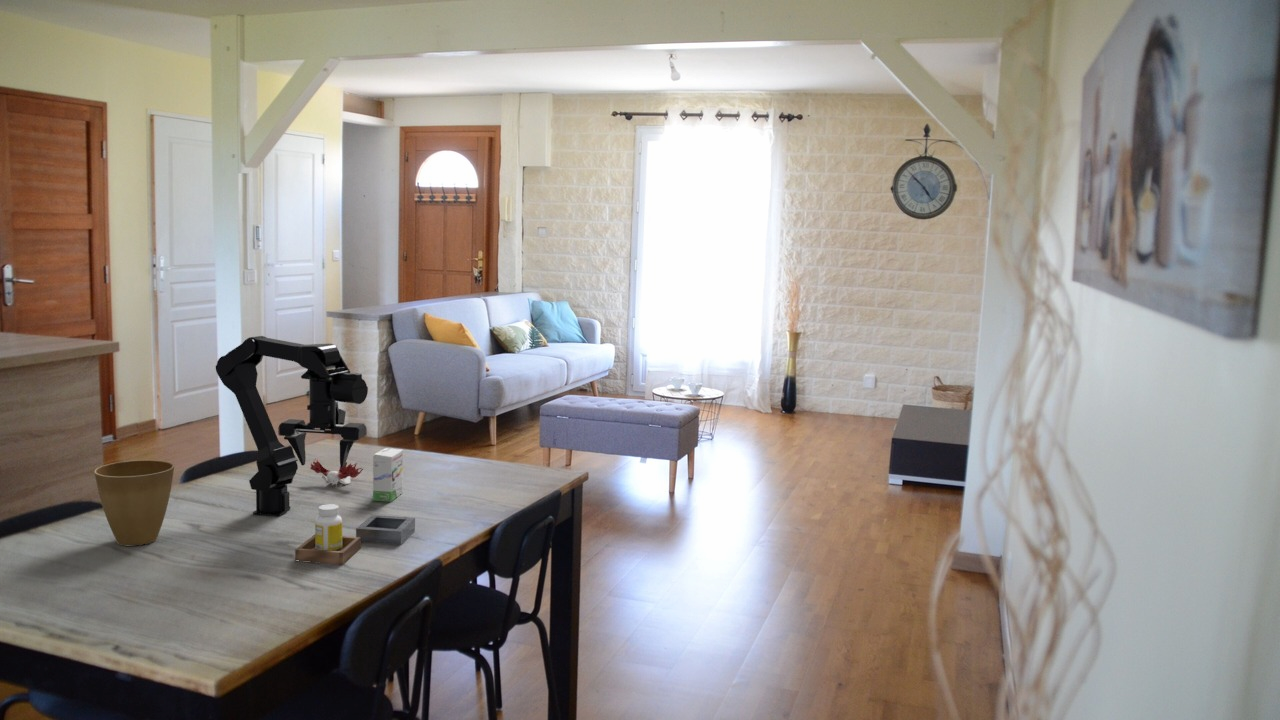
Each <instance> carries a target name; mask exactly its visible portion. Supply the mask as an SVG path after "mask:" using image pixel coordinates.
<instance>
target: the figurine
mask: <svg viewBox="0 0 1280 720" xmlns="http://www.w3.org/2000/svg"><path fill="white" fill-rule="evenodd" d="M319 460H320V459H319V457H317V459H316V458H315V459H314V460H313V462H311V463H310V470H312V471H314V472H315V473H316V474H322V476H321V478H322V479H323V480H324V482H325V483H324V486H325V487H326V486H327V485H328V484H331V486H334V485H335V487H337V484H338V483H340V484H342V485H349V483H350V484H351V478H352V479H355V478H356V477H358V476H359V475H360V474H361V473H362V471H363V470H364V469H365V468H364V467H363V468H362V467H359V468H356V467H357V465H358V462H355V463H354V464H352V463H348V462H347V461H346V463H345V465H344V467H343V468H341V466H339V470H329V469H327V468H325V467H324V466H323V465H322V464H321V462H320V461H319ZM359 470H360V471H359Z"/></svg>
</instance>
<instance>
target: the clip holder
mask: <svg viewBox="0 0 1280 720" xmlns="http://www.w3.org/2000/svg"><path fill="white" fill-rule="evenodd" d="M415 529H416V517H409V516H406V517H405V516H395V515H394V516H393V515H391V516H390V515H376V514H371V515H370V516H368V518H367V519H365V520H364V521H363V522H362V523H360V525H358V526H357V527H356V528H355V537H361V543H367V544H369V543H371V544H381V545H382V544H386V545H398V546H399V545H400V546H401V545H403V543H405V541H406V540H407V539H408V538H409V537H410V536H411V535H412V534H413V533H414V532H415V531H416V530H415Z"/></svg>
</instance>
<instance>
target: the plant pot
mask: <svg viewBox="0 0 1280 720" xmlns="http://www.w3.org/2000/svg"><path fill="white" fill-rule="evenodd" d="M174 471H175V464H173V462H170V461H166V460H165V461H164V460H156V459H154V460H153V459H139V460H138V459H137V460H126V461H118V462H113V463H107V464H105V465H101V466H98V467H96V468H95V469H94V472H93V473H94V477H95V483H96V487H97V491H98V496H99V499H100V503H101V506H102V509H103V512H104V515H105V518H106V520H107V523H108V525H109V527H110V530H111V532H112V534H113V536H114V538H115V540H116V543H117V542H118V543H119V544H118V543H117V544H118V545H120V544H122V545H121V546H123V545H139V546H144V545H143V544H145V545H149V544H151V542H152V543H154V542H155V541H156V540H157V539H158V537H159V535H160V534H159V533H160V531H161V528H162V525H163V523H164V519H165V517H166V514H167V513H166V512H167V509H168V505H169V500H170V497H171V491H172V484H173V479H174V478H173V477H174ZM153 541H154V542H153ZM148 543H149V544H148ZM141 544H142V545H141Z"/></svg>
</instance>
